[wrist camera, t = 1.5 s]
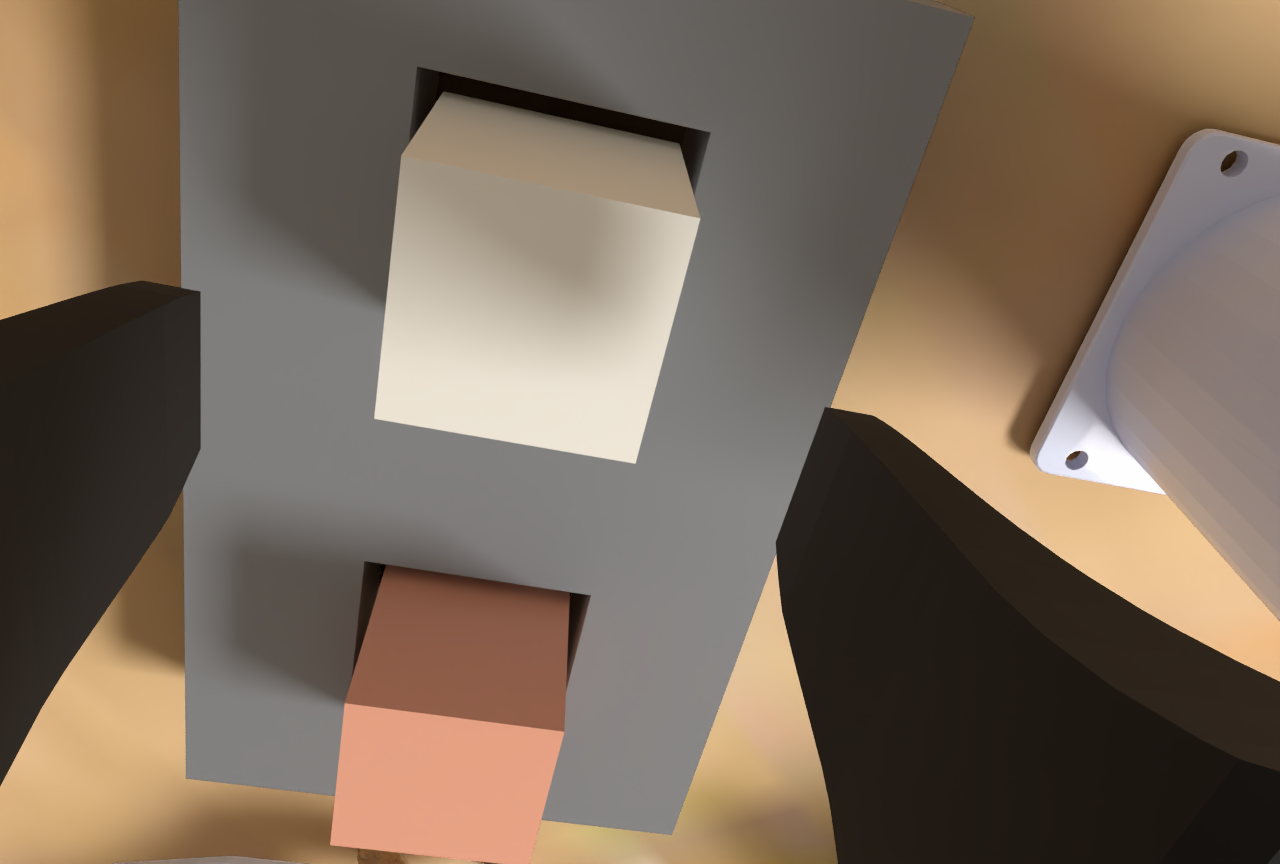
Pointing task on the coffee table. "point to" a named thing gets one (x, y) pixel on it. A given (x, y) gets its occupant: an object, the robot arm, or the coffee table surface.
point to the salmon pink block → (453, 718)
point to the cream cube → (533, 278)
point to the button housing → (498, 470)
